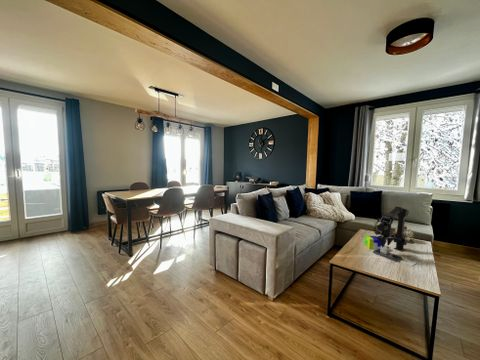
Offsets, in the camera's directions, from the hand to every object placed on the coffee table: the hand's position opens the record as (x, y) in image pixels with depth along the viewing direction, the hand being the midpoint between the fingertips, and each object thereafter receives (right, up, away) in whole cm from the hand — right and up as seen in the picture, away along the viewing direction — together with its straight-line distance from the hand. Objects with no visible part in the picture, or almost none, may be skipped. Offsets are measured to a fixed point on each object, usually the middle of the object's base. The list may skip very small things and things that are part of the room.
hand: (385, 246), depth 174 cm
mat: (+10, -9, -12) cm, 18 cm away
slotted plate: (+1, -8, -1) cm, 8 cm away
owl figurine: (+45, -6, +35) cm, 57 cm away
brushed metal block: (0, -8, +1) cm, 8 cm away
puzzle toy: (0, -7, +16) cm, 18 cm away
